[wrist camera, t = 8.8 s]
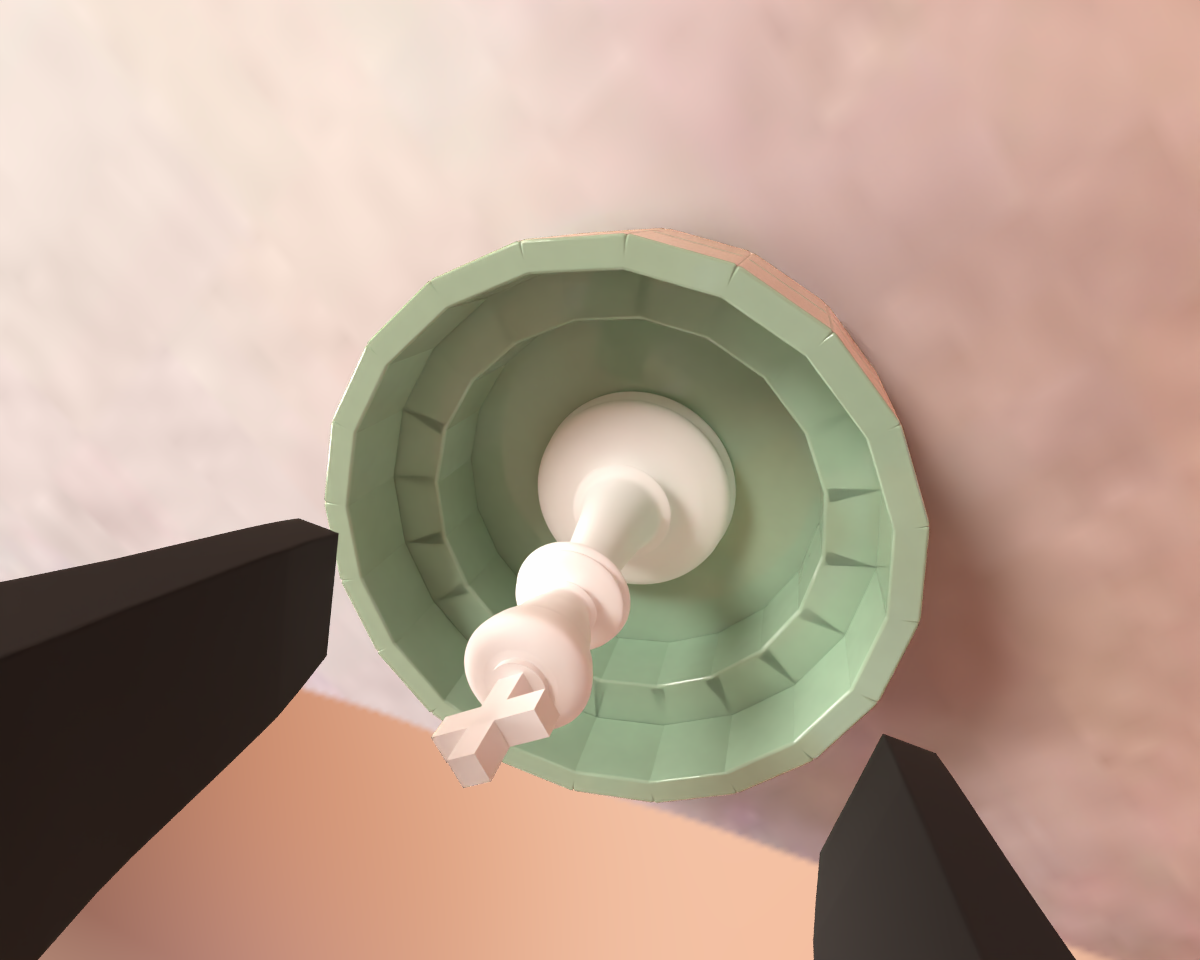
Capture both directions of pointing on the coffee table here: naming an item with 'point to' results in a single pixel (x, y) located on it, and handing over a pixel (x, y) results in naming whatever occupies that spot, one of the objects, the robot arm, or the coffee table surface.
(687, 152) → the coffee table surface
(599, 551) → the chess piece
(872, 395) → the bowl
